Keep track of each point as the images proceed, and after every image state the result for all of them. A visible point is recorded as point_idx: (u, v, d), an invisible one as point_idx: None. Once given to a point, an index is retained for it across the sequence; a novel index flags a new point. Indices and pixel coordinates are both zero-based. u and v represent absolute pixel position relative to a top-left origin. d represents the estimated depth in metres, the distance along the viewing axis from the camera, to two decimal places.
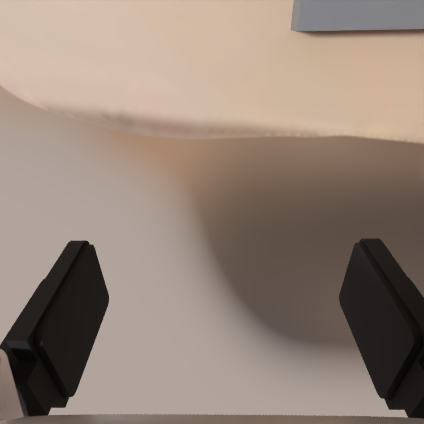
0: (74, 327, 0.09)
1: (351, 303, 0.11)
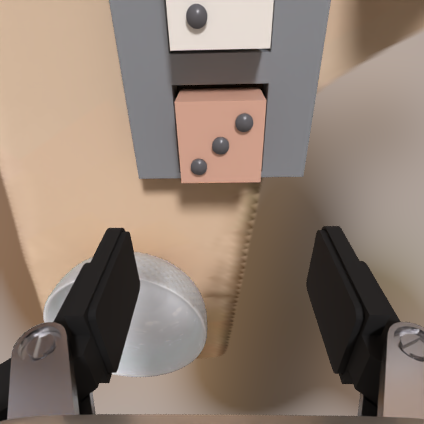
0: (116, 308, 0.10)
1: (314, 288, 0.11)
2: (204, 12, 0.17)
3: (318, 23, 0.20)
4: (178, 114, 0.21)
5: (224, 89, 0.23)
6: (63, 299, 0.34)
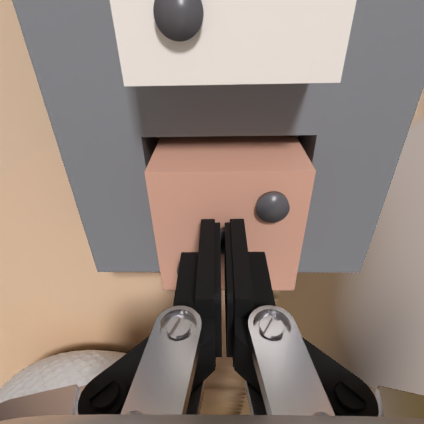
0: None
1: None
2: (196, 4, 0.07)
3: None
4: (152, 192, 0.11)
5: (235, 136, 0.14)
6: None
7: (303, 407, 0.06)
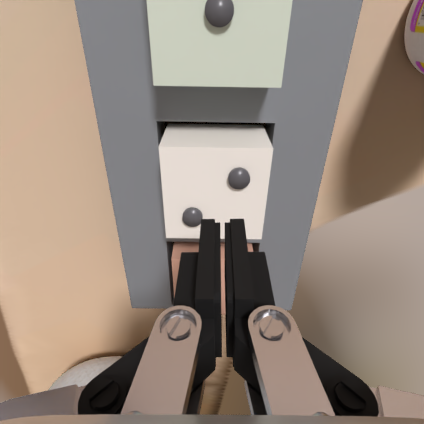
0: None
1: None
2: (200, 216, 0.18)
3: (307, 201, 0.21)
4: (174, 267, 0.23)
5: None
6: None
7: (303, 407, 0.06)
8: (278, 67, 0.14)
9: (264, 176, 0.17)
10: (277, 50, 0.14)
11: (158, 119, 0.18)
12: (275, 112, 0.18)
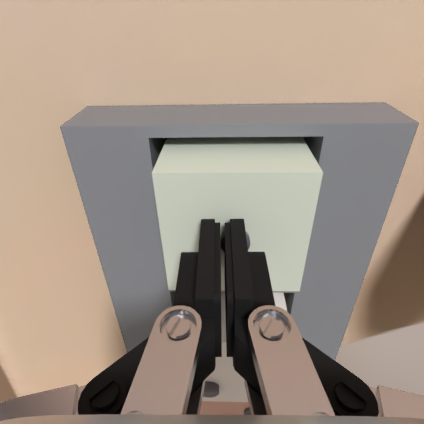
0: None
1: None
2: (216, 391, 0.17)
3: (329, 349, 0.20)
4: None
5: None
6: None
7: (303, 408, 0.06)
8: (296, 278, 0.14)
9: None
10: (295, 266, 0.13)
11: (171, 290, 0.17)
12: None
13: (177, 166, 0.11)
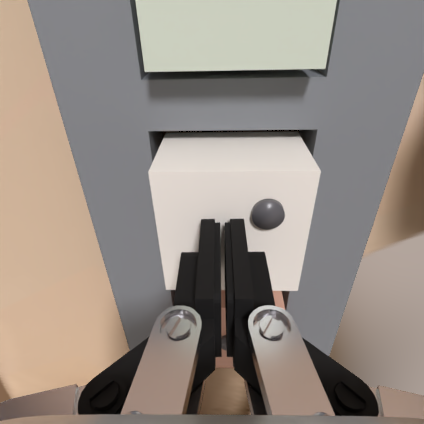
0: None
1: None
2: None
3: (358, 233, 0.16)
4: None
5: None
6: None
7: (303, 407, 0.06)
8: (322, 38, 0.10)
9: (305, 210, 0.12)
10: (322, 12, 0.09)
11: (150, 128, 0.13)
12: (318, 114, 0.12)
13: None
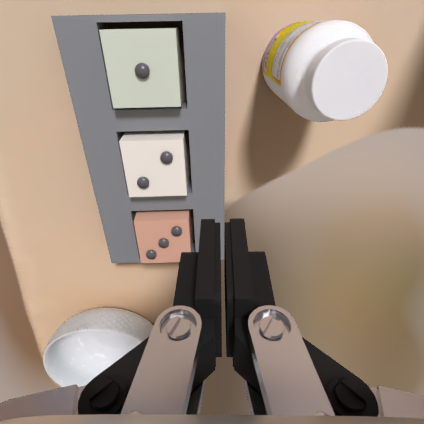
0: None
1: None
2: (147, 181, 0.31)
3: (219, 179, 0.33)
4: (136, 227, 0.34)
5: None
6: (57, 344, 0.45)
7: (303, 408, 0.06)
8: (177, 96, 0.27)
9: (181, 155, 0.30)
10: (175, 88, 0.27)
11: (117, 130, 0.30)
12: (187, 123, 0.30)
13: (111, 29, 0.25)
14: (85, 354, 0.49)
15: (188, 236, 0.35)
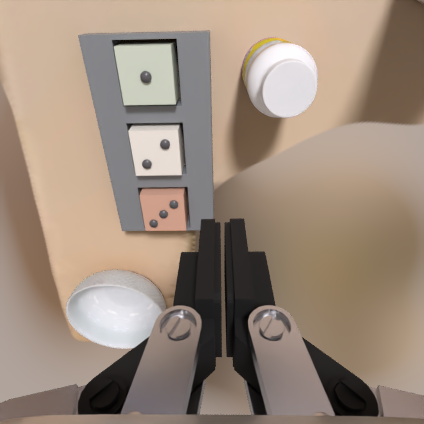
0: None
1: None
2: (150, 163, 0.39)
3: (208, 162, 0.41)
4: (141, 200, 0.43)
5: None
6: (77, 298, 0.54)
7: (303, 407, 0.06)
8: (172, 96, 0.35)
9: (176, 143, 0.38)
10: (171, 90, 0.34)
11: (127, 122, 0.38)
12: (182, 117, 0.38)
13: (122, 45, 0.33)
14: (100, 310, 0.59)
15: (183, 209, 0.43)
